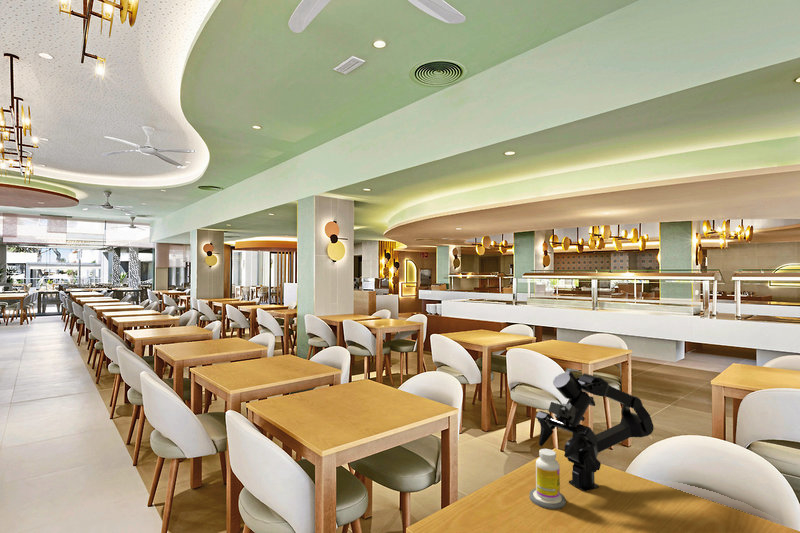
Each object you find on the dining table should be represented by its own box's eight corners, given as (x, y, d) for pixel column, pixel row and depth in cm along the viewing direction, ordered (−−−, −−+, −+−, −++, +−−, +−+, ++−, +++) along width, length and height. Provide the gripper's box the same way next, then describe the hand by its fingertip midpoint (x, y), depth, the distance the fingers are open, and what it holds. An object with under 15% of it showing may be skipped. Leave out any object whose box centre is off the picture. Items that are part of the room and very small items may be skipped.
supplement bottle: (561, 503, 118) (561, 457, 118) (537, 500, 120) (536, 455, 120) (558, 491, 125) (557, 448, 125) (535, 488, 126) (534, 446, 126)
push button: (546, 488, 129) (546, 484, 129) (573, 503, 120) (573, 499, 120) (522, 495, 124) (522, 492, 124) (548, 512, 115) (548, 508, 115)
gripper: (539, 385, 135) (515, 425, 129) (591, 400, 119) (566, 446, 113) (555, 406, 139) (532, 446, 133) (607, 423, 123) (584, 469, 117)
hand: (552, 451), depth 124 cm, fingers open, 9 cm apart
